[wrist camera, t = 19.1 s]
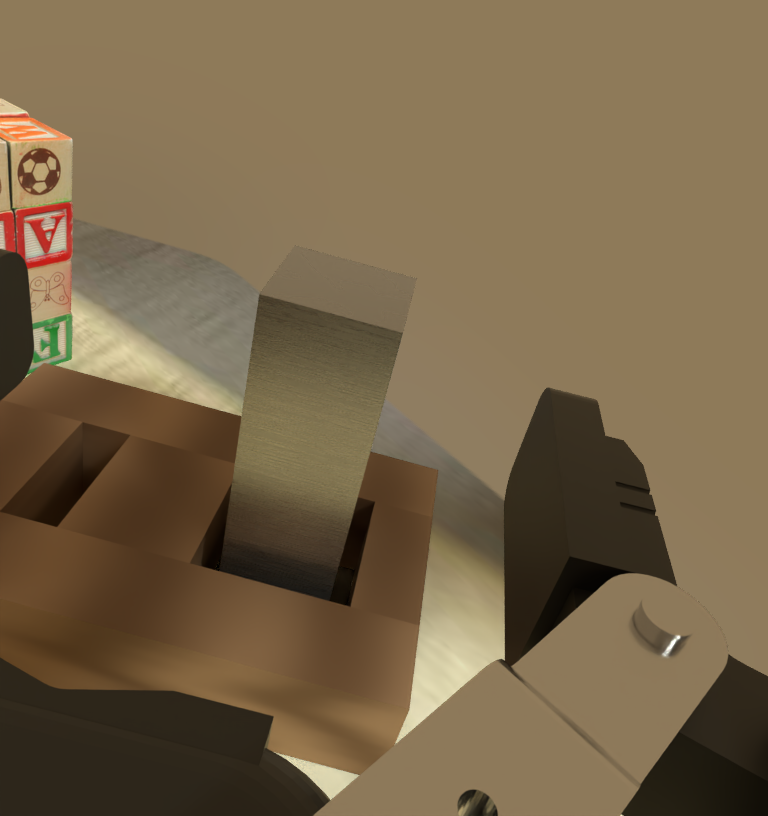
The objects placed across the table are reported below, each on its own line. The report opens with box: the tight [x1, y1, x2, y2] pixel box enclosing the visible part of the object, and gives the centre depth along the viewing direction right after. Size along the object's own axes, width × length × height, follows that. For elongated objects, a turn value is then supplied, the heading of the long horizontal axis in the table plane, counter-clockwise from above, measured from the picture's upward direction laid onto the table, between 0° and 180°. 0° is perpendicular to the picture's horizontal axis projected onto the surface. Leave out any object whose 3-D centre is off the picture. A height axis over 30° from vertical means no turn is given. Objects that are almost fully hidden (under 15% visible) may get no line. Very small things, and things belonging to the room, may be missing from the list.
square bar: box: [220, 246, 417, 601], centre depth 24 cm, size 4×4×14 cm
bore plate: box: [0, 363, 438, 775], centre depth 27 cm, size 18×12×4 cm, turn 82°
